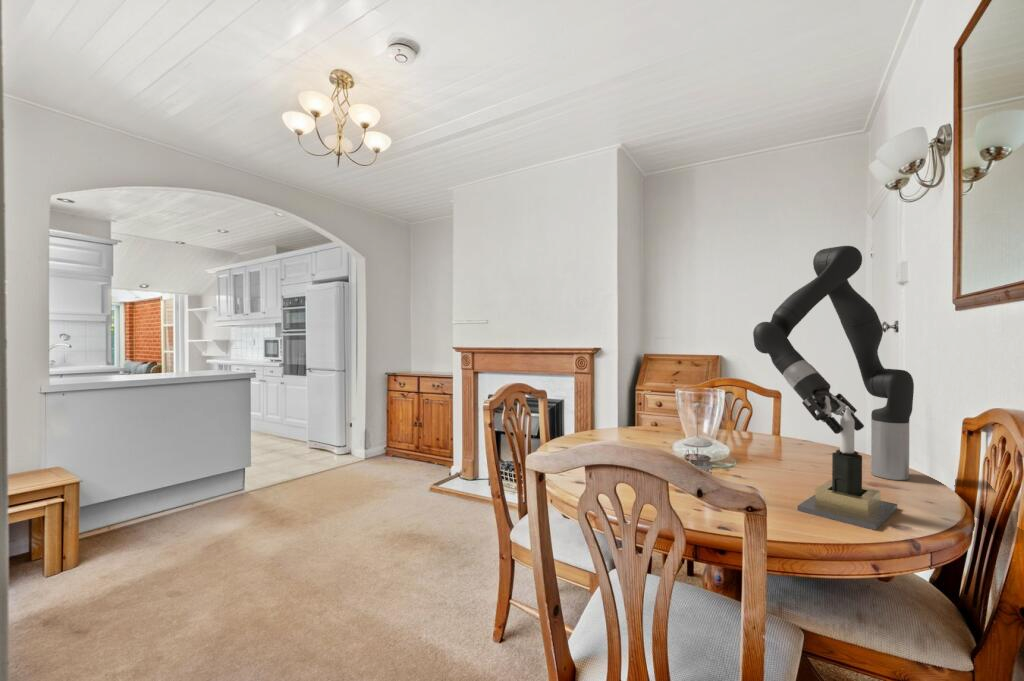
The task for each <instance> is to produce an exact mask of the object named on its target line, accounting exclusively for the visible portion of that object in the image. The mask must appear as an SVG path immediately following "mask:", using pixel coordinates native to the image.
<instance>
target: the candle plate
mask: <svg viewBox="0 0 1024 681" xmlns="http://www.w3.org/2000/svg"><path fill="white" fill-rule="evenodd" d="M814 490H815V491H814V492H815V494H813V495H812V496H811V497H809V498H808V499H806V500H804V501H803V502H801V503H799V504H798V505H797V511H799V512H802V513H807V514H810V515H815V516H819V517H822V518H826V519H829V520H834V521H838V522H842V523H844V524H845V523H846V524H849V525H853V526H858V527H862V528H865V529H869V530H872V531H876V530H877V531H878V529H879V528H880V527H881V526H882V524H884V523H885V522H886V520H888V518H890V517H891V516H892V515H893V514H894V513H895V512H896V511H897V509H898V503H895V502H890V501H886V500H881V490H880V489H874V488H870V487H865V486H864V487H863V486H862V496H855V495H850V494H846V493H841V492H837V491H832V479H831V480H830V479H829V480H828V481H827V482H825V483H823V484H821V485H819V486H818V487H817V488H815V489H814Z"/></svg>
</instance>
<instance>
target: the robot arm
mask: <svg viewBox="0 0 1024 681" xmlns="http://www.w3.org/2000/svg"><path fill="white" fill-rule="evenodd" d="M812 262H813V264H812V265H813V269H814V273H815V275H816V276H817V277H815V278H814V279H812V280H811V281H810V282H808V283H807V284H805V285H803V286H802V287H800V288H798V289H797V290H795V291H793V293H792V294H790V295H789V296H788V297H787V298H786V299H784V301H783V302H782V303H781V304H780V305H779V306H778V307H777V308H776V309H775V310H774V312H773V314H772V316H771V320H770V321H762V322H759V323H758V324H756V325H755V327H754V329H753V332H752V336H753V343H754V348H755V349H756V350H757V351H758V352H759V353H761V354H765V355H766V354H768V355H769V357H770V360H771V362H772V364H773V366H774V367H775V368H776V369H777V370H778V371H779V373H780V374H781V376H783V378H784V379H785V380H786V382H787V384H789V385H790V387H791V388H792V389H793V390H794V392H795V393H796V394H797V395H798V396H799V397H800V398H801V400H802V402H801V403H802V405H803V406H804V408H805V409H806V410H807V411H808V412H809V414H810V415H811V416H812V417H813V418H814V420H815V421H817V422H818V421H821V422H822V423H825V424H826V425H827V426H828V427H829V429H831V431H832V432H833V433H834V434H837V435H838V434H840V432H842V431H843V427H842V426H841V425H840V423H839V421H838V420H836V418H835V417H834V416H833V415H832V414H834V415H836V416H841V417H842V416H843V415H844V413H845V410H846V408H845V407H846V406H849V411H850V413H851V416H852V417H853V419H854V421H855V426H854V431H857V432H858V431H861V430H862V429H864V427H865V425H864V424H863V422H862V421H861V420H860V419H859V418H858V417H857V416H856V415H855V413H856V412H858V409H856V408H855V406H854V405H852V403H850V402H849V400H848V399H847V398H846V397H844V396H843V394H842V393H837V394H835V395H834V394H832V393H831V392H830V390H831V384H830V383H829V382H828V381H827V380H826V379H825V378H824V377H823V376H822V374H821V373H820V372H819V371H818V370H817V369H816V368H815V367H814V366H813V365H812V364H810V363H809V362H808V361H807V360H806V359H805V358H804V357H803V356H802V355H801V353H800V352H798V351H797V350H796V349H795V347H794V346H793V344H792V343H791V341H790V340H789V339H788V337H789V336H790V335H791V332H793V329H794V328H795V327H796V326H797V325H798V324H799V323H801V321H802V320H803V319H804V318H805V317H806V316H807V315H808V313H810V312H811V311H812V309H813V308H814V307H816V305H818V304H819V303H820V302H821V301H822V300H823V299H825V298H826V297H827V296H828V297H829V299H830V301H831V304H832V305H833V308H834V310H835V312H836V314H837V316H838V318H839V321H840V324H841V326H842V328H843V331H844V334H845V336H846V338H847V339H848V341H849V344H850V346H851V348H852V352H853V354H854V356H855V359H856V362H857V365H858V369H859V371H860V376H861V378H862V382H863V384H864V387H865V389H866V391H867V392H868V393H869V395H871V396H873V397H875V398H876V397H877V398H882V399H886V404H885V406H883V407H880V408H876V409H875V408H874V409H873V410H872V411H871V418H870V419H871V422H870V423H871V424H870V425H871V426H870V427H871V430H870V431H871V433H870V434H871V436H870V442H871V443H870V444H871V445H870V446H871V447H870V448H871V449H870V453H871V454H870V455H871V456H870V457H871V460H870V470H871V471H870V473H871V475H873V476H875V477H877V478H881V479H886V480H894V481H907V480H909V479H910V418H911V416H912V412H913V403H914V391H915V383H914V379H913V376H912V374H911V373H910V372H909V371H907V370H904V369H896V368H885V367H884V366H883V365H882V362H881V359H880V357H879V355H878V354H879V352H878V351H879V346H880V344H881V342H882V338H883V334H884V329H883V326H882V323H881V320H880V317H879V315H878V313H877V311H876V309H875V308H874V307H873V306H872V305H871V303H870V302H869V301H868V300H866V299H865V298H864V297H863V296H862V295H860V294H859V292H857V291H856V290H855V289H854V288H853V287H852V285H851V283H850V282H849V280H848V279H849V278H851V277H852V276H854V275H855V274H856V273H857V272H858V271H859V270H860V268H861V266H862V264H863V255H862V253H861V250H859V248H857V247H855V246H854V245H853V246H852V245H840V246H835V247H827V248H823V249H819V251H817V252H816V253H815V255H814V257H813V260H812Z"/></svg>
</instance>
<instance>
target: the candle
mask: <svg viewBox="0 0 1024 681" xmlns="http://www.w3.org/2000/svg"><path fill="white" fill-rule="evenodd" d="M845 408H846V410H845V413H844V412H843V413H844V415H843V416H841V417H840V423H839V424H840V425H841V426H842V427H843V431H842V432H840V433H839V434H840V435H839V436H840V438H839V443H840V444H839V449H836V450H835V451H834V452H832V453H831V454H832V459H831V460H832V464H831V466H832V467H831V468H832V470H831V475H832V478H831V481H832V491H837V492H841V493H846V494H850V495H855V496H862V487H863V455H862V454H859V452H858V451H855V429H854V426H855V421H854V419H853V417H852V416H851V413H850V411H849V409H850V408H849V406H846V407H845Z"/></svg>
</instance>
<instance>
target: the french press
mask: <svg viewBox="0 0 1024 681" xmlns="http://www.w3.org/2000/svg"><path fill="white" fill-rule="evenodd" d="M693 408H695V409H696V436H691V437H688V438H686V439H684V440H682V444H683V445H684V446H687V447H690V448H696V453H695V450H692V452H691V453H690V450H689V449H687V450H686V452H685V453H684V455H683V460H684V459H685V460H687V461H689V462H691V463H692V464H694V465H695V466H697V467H698V468H700V469H701V470H704V471H706V472H708V473H710V474H709V475H711V474H712V475H713V472H712V471H713V463H712V462H711V459H712V457H711V456H709V455H705V454H702V453H701V454H700V453H699V448H711V446H713V442H711V441H710V440H708V439H707V438H705V437H700V436H699V432H698V431H699V429H698V428H699V425H698V424H699V421H698V420H699V417H698V416H699V414H698V413H699V409H701V408H702V406H701V404H700V403H699V402H696V403H694V404H693ZM710 470H711V471H710Z"/></svg>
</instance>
